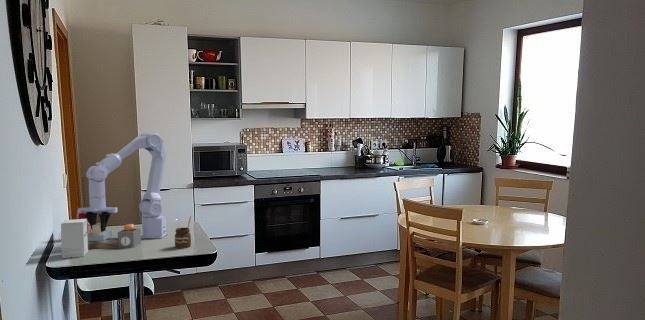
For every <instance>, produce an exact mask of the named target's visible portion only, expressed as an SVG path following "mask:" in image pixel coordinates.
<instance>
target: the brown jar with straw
mask: <svg viewBox="0 0 645 320" xmlns="http://www.w3.org/2000/svg"><path fill="white" fill-rule="evenodd" d="M191 220H192V215H190V216H189V220H188V224H187V227H179V226H178V224H179V223H181V220H180V218H178V221H177V223H176V220H174V223H175V226H176V229H175V234H174V247H175V248H176V249H188V248H189V247H191V245H192V239H191V238H192V237H191V236H192V235H191V233H190V231H191V230H190V228H189V226H190V224H191Z"/></svg>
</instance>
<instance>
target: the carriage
mask: <svg viewBox="0 0 645 320" xmlns="http://www.w3.org/2000/svg"><path fill="white" fill-rule="evenodd" d="M87 236H88V241H104V240H106V239H108V238H113V232H112V230H108V231H107V230H105V231H103V232H101V222H100V223H99V222H96V224H94V225H92V229H91V233H89V234H87Z"/></svg>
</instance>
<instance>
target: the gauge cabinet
mask: <svg viewBox="0 0 645 320" xmlns="http://www.w3.org/2000/svg"><path fill="white" fill-rule="evenodd" d="M141 236H142V229H141V228H139V227H138V228H135V227H134V231H124V228H123V229H121V230H119V231H117V238H118V248H119V249H121V248H122V249H123V248H125V249H126V248H129V249H130V248H133V249H134V248H136V247H137V246H139V245H141V243H142V238H141ZM118 248H117V249H118Z"/></svg>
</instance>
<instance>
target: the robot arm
mask: <svg viewBox="0 0 645 320" xmlns="http://www.w3.org/2000/svg"><path fill="white" fill-rule="evenodd" d="M164 140H165V139H164V138H163V137H162V136H161V135H160V134H159V133H156V132H151V133H149V132H148V133H147V132H143V133H141V134H140V135H138V136H136V137H135V138H134V139H133V140H132V141H130V142H129V143H127V144H126V145H124V147H123V148H122V149H120V150H119V151H118V152H117V153H107V154H106V155H105V157H104V158H103V159H102V160H100V161H97V162H95V165H93V166H92V165H91V166H90V167H89V168H88V169H87V171H86V173H85V176H86V178H87V179H88V195H89V196H88V199H89V200H88V201H89V207H88V206H86V207H78V209H77V210H78V211H77V212H78V213H86V215H85V217H86V218H87V220H88V222H89V224H90V226H91V230H92V225H94V224H97V217H98V216H99V220H100V223H101V232H103V231H107V230H106V229H107V226H108V225H107V224H108V222H109V219H110V218H111V217H110V216H111V215H112V214H116V213H118V210H119V209H118V207H117V206H116V207H113V206H107V203H106V202H107V201H106V200H107V197H106V179H107V178H108V175H109V174H110V173H112V172H113V171H114V170H115V169H118V168H119V166H122V161H123V160H125V158H127V157H128V156H130V155H131V154H133V153H135V152H136V151H137V150H139V149H140V150H141V149H145V150H147V152H148V153H149V154H150V155H151V156H152V157H151V163H150V168H149V169H150V170H149V173H148V180H147V186H146V192H145V193H144V194H143V196H142V200H141V201H140V202H139V205H138V210H139V211H140V213H141V239H162V238H164V237H165V236H167V235H168V232H167V231H168V230H167V229H168V228H167V218H166V216H165V215H160V214H161V213H162V211H163V205H162V200H163V199H162V197H161V195H160V191H161V187H162V180H163V175H164V169H165V162H166V157H167V152H166V147H165V145H164V144H165V143H164V142H165V141H164Z"/></svg>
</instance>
